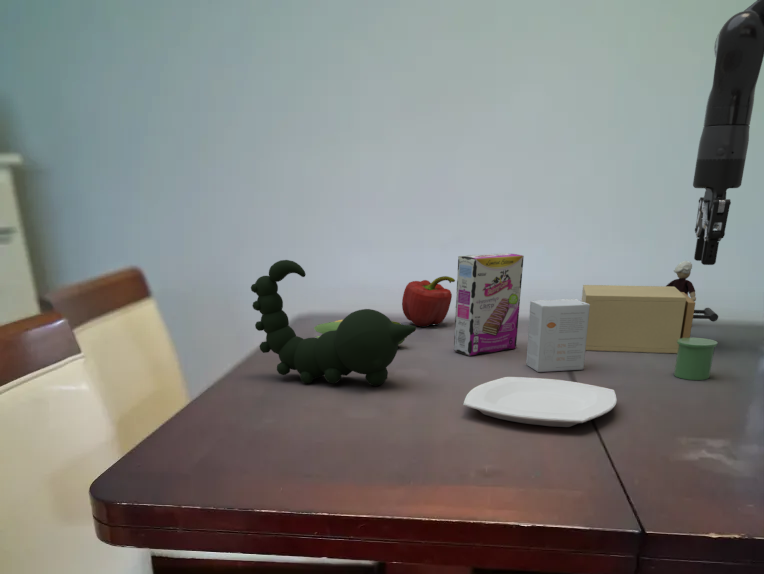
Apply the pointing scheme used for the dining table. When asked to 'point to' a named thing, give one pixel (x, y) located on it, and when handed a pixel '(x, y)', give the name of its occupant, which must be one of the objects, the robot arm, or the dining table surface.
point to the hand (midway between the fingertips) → (704, 262)
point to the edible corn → (335, 327)
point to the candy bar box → (487, 303)
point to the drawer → (694, 316)
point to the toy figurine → (326, 337)
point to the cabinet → (634, 318)
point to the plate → (541, 401)
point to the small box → (557, 335)
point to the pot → (694, 358)
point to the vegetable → (426, 301)
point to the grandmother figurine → (683, 279)
